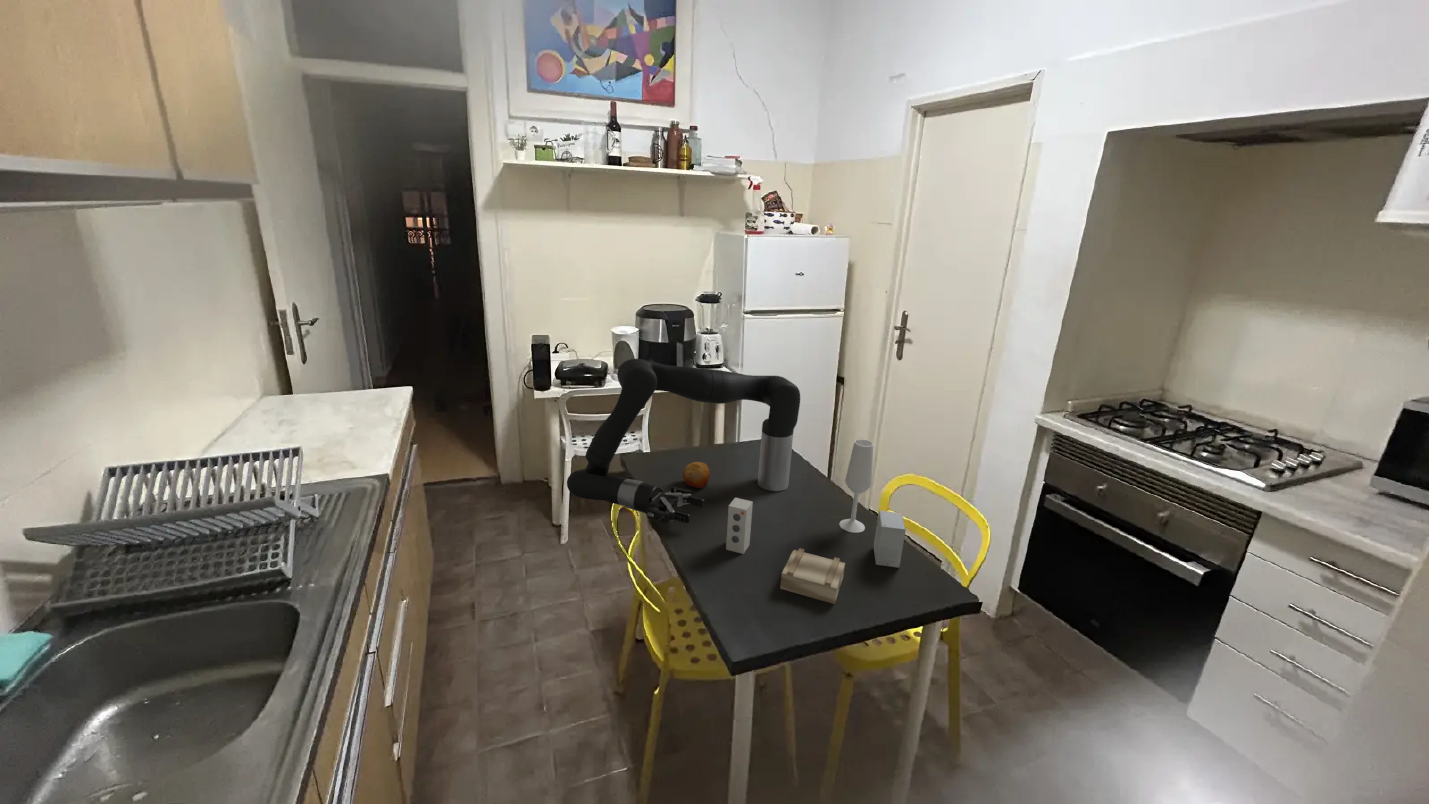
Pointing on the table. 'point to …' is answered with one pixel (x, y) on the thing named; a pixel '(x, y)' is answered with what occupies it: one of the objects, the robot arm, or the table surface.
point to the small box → (889, 539)
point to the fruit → (696, 474)
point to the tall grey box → (739, 525)
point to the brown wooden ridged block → (813, 576)
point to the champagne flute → (858, 479)
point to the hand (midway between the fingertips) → (696, 511)
